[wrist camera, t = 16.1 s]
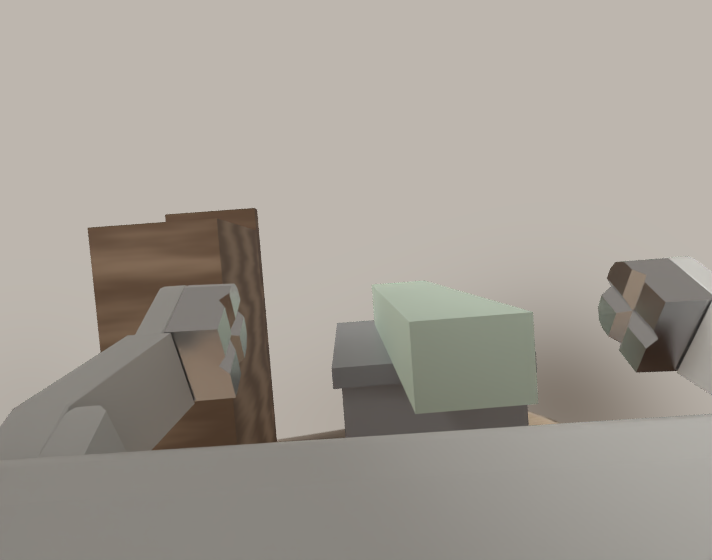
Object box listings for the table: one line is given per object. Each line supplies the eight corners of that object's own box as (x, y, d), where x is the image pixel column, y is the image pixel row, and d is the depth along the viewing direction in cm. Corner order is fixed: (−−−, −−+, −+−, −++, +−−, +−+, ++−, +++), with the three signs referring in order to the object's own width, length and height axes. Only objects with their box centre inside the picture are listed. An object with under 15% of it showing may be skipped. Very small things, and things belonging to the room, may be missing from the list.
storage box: (555, 708, 23) (535, 351, 22) (360, 726, 23) (331, 368, 22) (472, 530, 38) (458, 313, 37) (354, 540, 38) (337, 323, 37)
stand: (270, 553, 37) (237, 183, 35) (94, 569, 37) (54, 196, 35) (295, 453, 56) (275, 209, 54) (180, 462, 56) (156, 217, 54)
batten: (538, 403, 15) (532, 312, 15) (415, 413, 15) (409, 321, 15) (427, 320, 35) (424, 280, 35) (374, 324, 35) (371, 284, 35)
